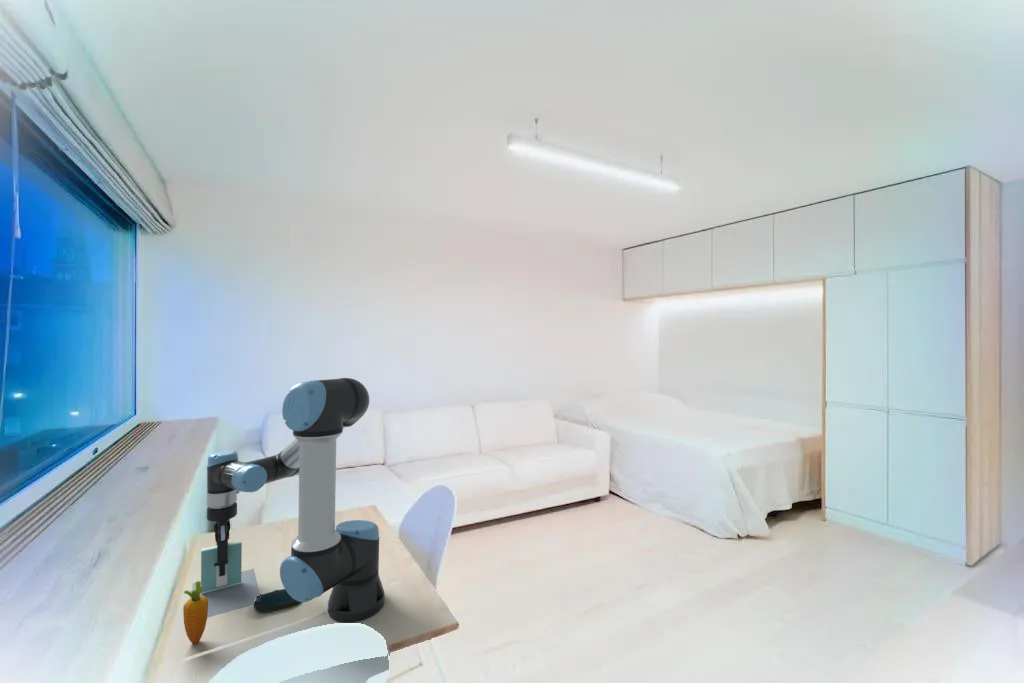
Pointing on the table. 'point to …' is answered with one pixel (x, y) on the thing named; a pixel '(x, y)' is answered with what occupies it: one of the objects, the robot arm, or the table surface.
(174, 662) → the table surface
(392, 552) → the table surface
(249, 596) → the mat
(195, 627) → the carrot
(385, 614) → the table surface
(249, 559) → the table surface
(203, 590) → the board
